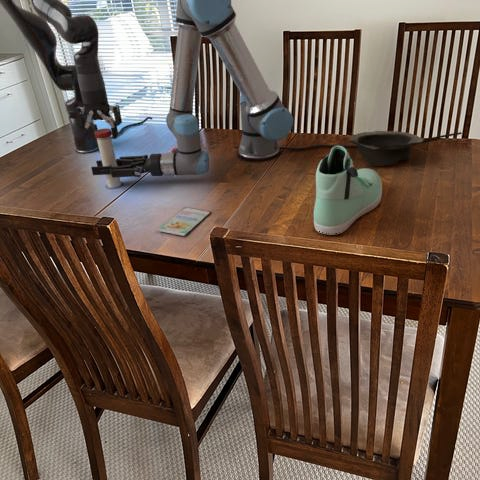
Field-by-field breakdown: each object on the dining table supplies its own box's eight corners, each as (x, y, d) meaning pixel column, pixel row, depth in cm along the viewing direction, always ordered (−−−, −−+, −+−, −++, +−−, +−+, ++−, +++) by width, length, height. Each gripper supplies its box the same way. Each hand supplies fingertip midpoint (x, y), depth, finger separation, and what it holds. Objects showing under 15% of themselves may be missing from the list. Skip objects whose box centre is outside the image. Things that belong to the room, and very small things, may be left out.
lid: (115, 133, 157) (114, 128, 156) (106, 139, 153) (105, 134, 152) (101, 132, 159) (99, 128, 158) (91, 138, 154) (90, 133, 154)
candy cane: (151, 162, 180) (151, 158, 180) (178, 149, 190) (177, 145, 190) (163, 165, 177) (162, 161, 176) (189, 151, 187) (189, 147, 187)
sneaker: (389, 187, 148) (396, 123, 138) (356, 242, 123) (361, 168, 112) (346, 181, 154) (350, 119, 144) (306, 232, 129) (307, 161, 118)
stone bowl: (381, 177, 154) (382, 149, 150) (333, 159, 175) (333, 134, 170) (437, 158, 163) (440, 131, 159) (386, 143, 183) (387, 119, 179)
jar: (106, 188, 163) (94, 136, 153) (108, 183, 167) (96, 132, 157) (120, 187, 163) (109, 135, 154) (121, 181, 167) (111, 130, 158)
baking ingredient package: (157, 229, 135) (185, 206, 146) (157, 231, 135) (185, 208, 146) (183, 235, 131) (210, 211, 142) (183, 236, 131) (210, 212, 143)
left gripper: (65, 91, 146) (78, 143, 154) (110, 89, 144) (121, 142, 152) (75, 84, 152) (87, 135, 160) (118, 83, 150) (128, 134, 158)
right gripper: (159, 186, 154) (89, 189, 156) (169, 164, 170) (105, 167, 171) (155, 164, 151) (83, 167, 152) (165, 144, 166) (100, 147, 168)
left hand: (103, 138), depth 156 cm, fingers open, 7 cm apart
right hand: (95, 167), depth 162 cm, fingers closed on jar, 5 cm apart
